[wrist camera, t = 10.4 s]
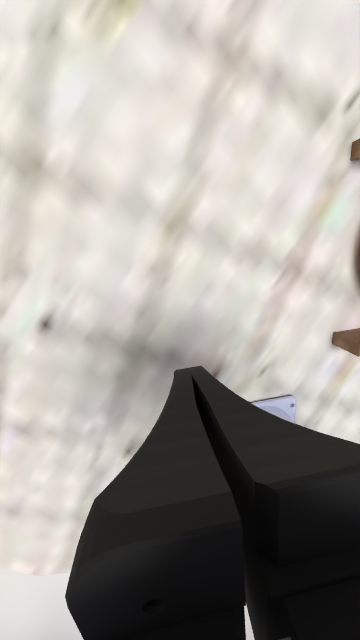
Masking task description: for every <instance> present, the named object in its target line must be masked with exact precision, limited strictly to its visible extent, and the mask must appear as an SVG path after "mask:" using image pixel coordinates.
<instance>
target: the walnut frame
mask: <svg viewBox="0 0 360 640" xmlns="http://www.w3.org/2000/svg"><path fill="white" fill-rule="evenodd" d="M357 159H360V139H358V140H356V141H354V142H353V144H352V153H351V160H357ZM332 344H334V345H336V346H338V347H340V348H342V349H344V350H346V351H348V352H350V353H352V354H354V355H356V356H360V328H359V329H353V330H347V331H341V332H334V333H333V341H332Z"/></svg>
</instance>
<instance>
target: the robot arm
mask: <svg viewBox="0 0 360 640" xmlns="http://www.w3.org/2000/svg"><path fill="white" fill-rule="evenodd" d="M295 420H296V398H295V397H294V396H286V397H281V398H275V399H270V400H264V401H259V402H253V403H250V402H248V401H246V400H245V399H243V398H241V397H240V396H238V395H237V394H235V393H234V392H232V391H231V390H230V389H228V388H227V387H226V386H224V385H223V384H222V383H220V382H219V381H218V380H217V379H216V378H214V377H213V376H212V375H211V374H210V373H209V372H208V371H206V370H205V369H204V368H203V367H202V366H197V367H191V368H185V369H179V370H176V371H175V372H174V379H173V383H172V387H171V390H170V393H169V396H168V399H167V401H166V403H165V406H164V408H163V410H162V412H161V414H160V416H159V418H158V420H157V422H156V424H155V426H154V427H153V429H152V431H151V432H150V434H149V435H148V437H147V438H146V440H145V441H144V443H143V444H142V446H141V447H140V448H139V450H138V451H137V452H136V454H135V455H134V456H133V457H132V459H131V460H130V461H129V462H128V464H127V465H126V466H125V468H124V469H123V470H122V471H121V472H120V473H119V474H118V476H117V477H116V478H115V479H114V480H113V481H112V482H111V483H110V484H109V485H108V486H107V487H106V488H105V489H104V490H103V491H102V492H101V493H100V494H99V495H98V496H97V497H96V498H95V500H94V502H93V504H92V507H91V509H90V512H89V514H88V517H87V520H86V522H85V525H84V528H83V531H82V533H81V536H80V539H79V543H78V546H77V550H76V554H75V558H74V562H73V566H72V570H71V573H70V577H69V582H68V586H67V590H66V595H65V598H66V602H67V606H68V609H69V611H70V613H71V615H72V617H73V619H74V621H75V623H76V625H77V627H78V629H79V631H80V633H81V635H82V637H83V639H84V640H246V634H245V615H244V606H245V605H246V604H247V608H248V613H249V617H250V621H251V625H252V630H253V634H254V638H255V640H360V444H357V443H354V442H351V441H347V440H344V439H340V438H337V437H333V436H330V435H326V434H323V433H320V432H317V431H314V430H311V429H308V428H305V427H302V426H300V425H297V424H295Z"/></svg>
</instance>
